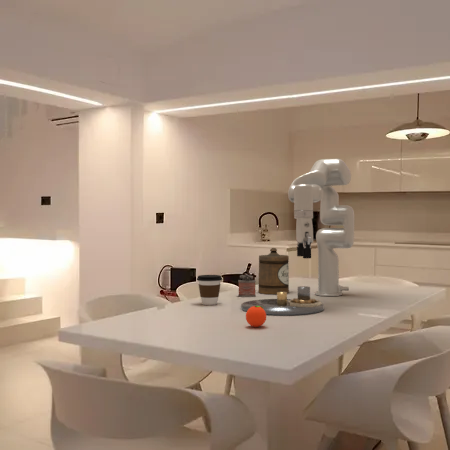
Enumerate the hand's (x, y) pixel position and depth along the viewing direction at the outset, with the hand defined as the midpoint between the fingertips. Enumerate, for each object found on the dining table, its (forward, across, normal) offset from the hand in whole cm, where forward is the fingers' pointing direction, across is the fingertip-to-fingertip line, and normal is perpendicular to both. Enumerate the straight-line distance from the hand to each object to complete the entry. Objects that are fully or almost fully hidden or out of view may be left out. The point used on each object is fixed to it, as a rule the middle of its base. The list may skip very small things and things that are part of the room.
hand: (304, 257), depth 221 cm
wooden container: (+22, +47, +3) cm, 52 cm away
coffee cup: (+21, +15, +37) cm, 45 cm away
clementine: (+20, -36, +25) cm, 48 cm away
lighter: (+21, +35, +18) cm, 45 cm away
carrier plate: (+20, -1, +9) cm, 22 cm away
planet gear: (+19, 0, 0) cm, 19 cm away
